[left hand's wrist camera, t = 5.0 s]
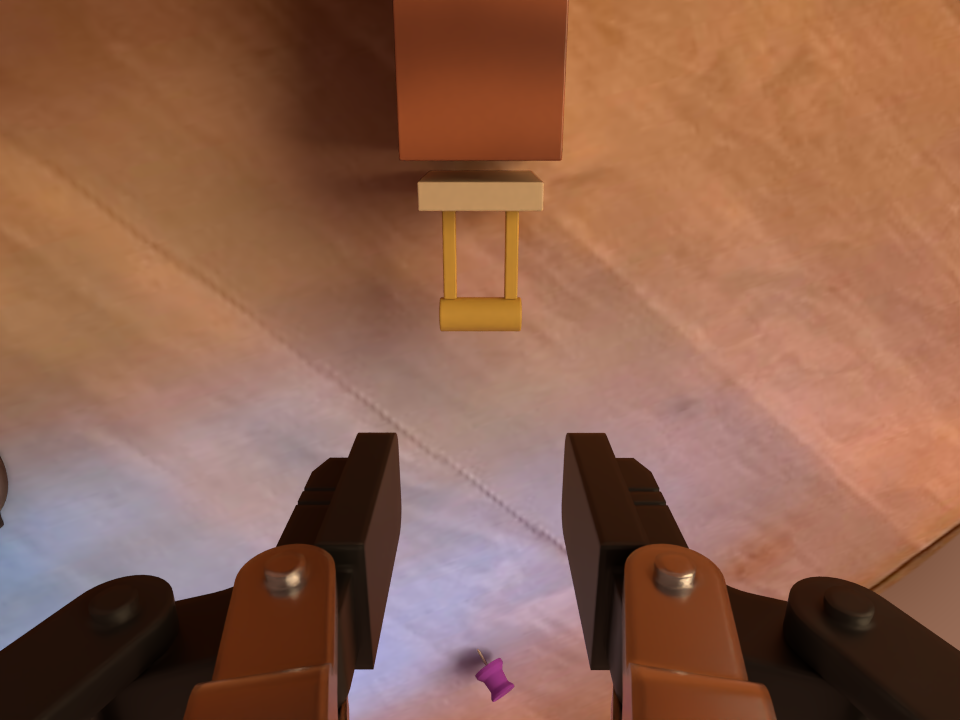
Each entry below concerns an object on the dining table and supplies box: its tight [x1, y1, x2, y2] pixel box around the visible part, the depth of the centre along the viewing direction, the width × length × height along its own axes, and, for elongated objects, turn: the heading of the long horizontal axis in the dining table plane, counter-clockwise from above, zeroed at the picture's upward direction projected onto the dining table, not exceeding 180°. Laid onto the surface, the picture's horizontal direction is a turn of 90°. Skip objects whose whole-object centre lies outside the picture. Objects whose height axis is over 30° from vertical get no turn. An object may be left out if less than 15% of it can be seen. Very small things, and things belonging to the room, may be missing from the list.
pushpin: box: [475, 649, 514, 702], centre depth 44 cm, size 2×3×3 cm
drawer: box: [417, 171, 544, 331], centre depth 28 cm, size 24×5×7 cm, turn 0°
